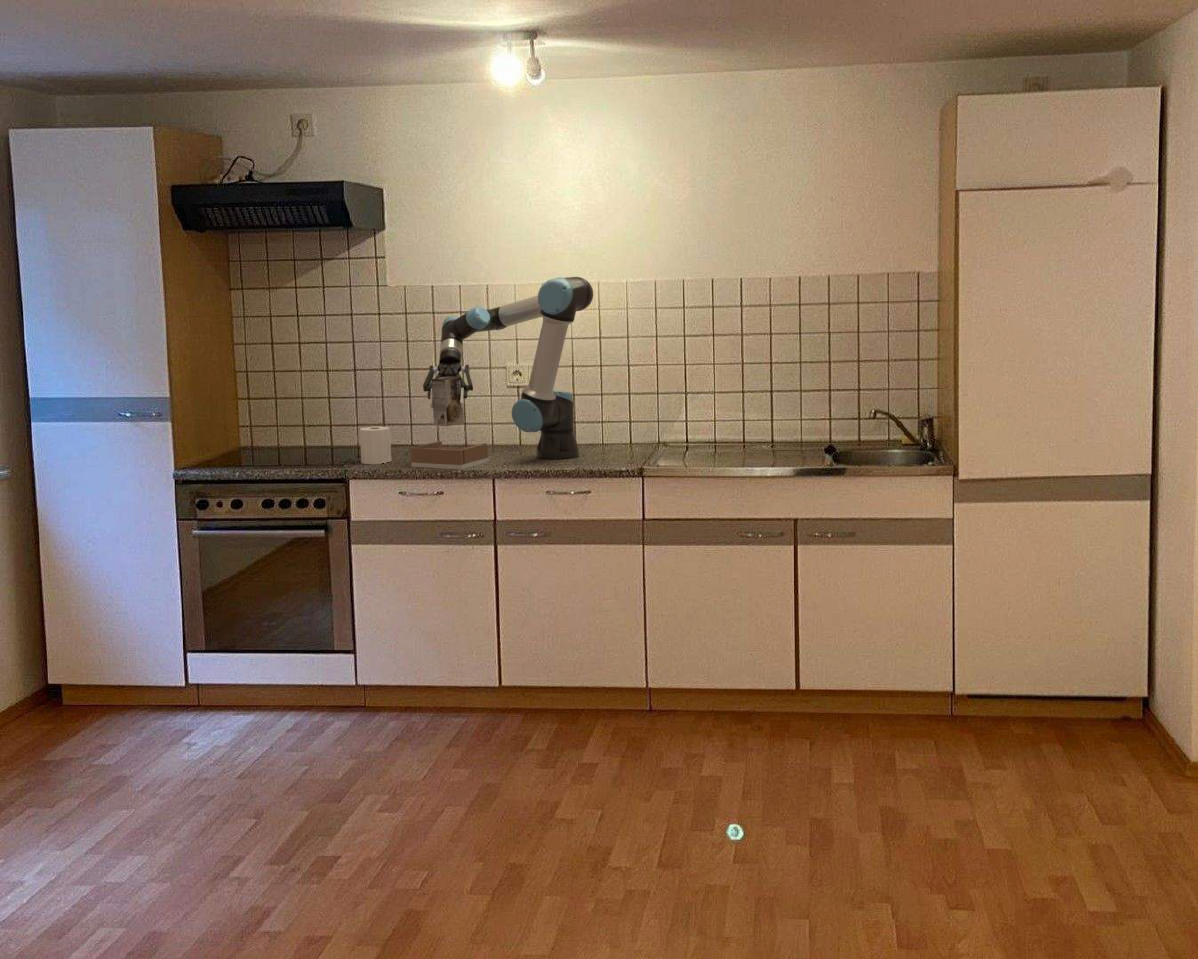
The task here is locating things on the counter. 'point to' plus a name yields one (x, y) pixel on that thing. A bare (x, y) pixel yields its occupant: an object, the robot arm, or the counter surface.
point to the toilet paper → (375, 445)
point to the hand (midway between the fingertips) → (446, 405)
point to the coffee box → (447, 401)
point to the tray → (448, 456)
